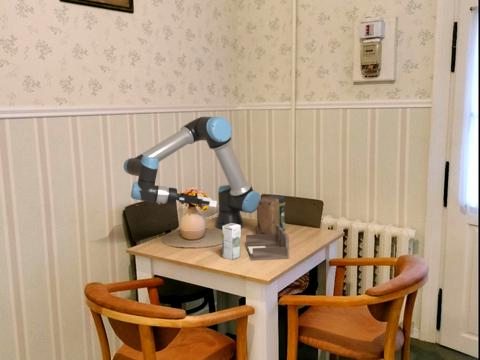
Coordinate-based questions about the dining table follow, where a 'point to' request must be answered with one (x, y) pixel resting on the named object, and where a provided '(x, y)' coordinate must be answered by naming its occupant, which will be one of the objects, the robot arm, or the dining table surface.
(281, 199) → the coffee jar
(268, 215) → the block
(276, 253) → the bay
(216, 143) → the robot arm
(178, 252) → the dining table surface
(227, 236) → the syrup box
